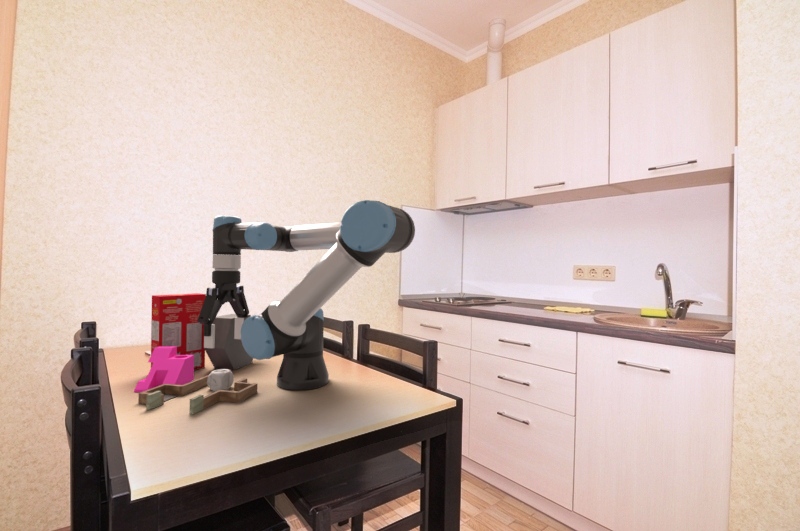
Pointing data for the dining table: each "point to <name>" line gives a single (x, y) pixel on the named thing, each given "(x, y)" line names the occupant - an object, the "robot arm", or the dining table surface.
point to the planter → (227, 345)
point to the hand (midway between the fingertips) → (224, 343)
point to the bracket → (167, 369)
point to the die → (220, 379)
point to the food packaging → (179, 325)
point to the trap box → (198, 403)
